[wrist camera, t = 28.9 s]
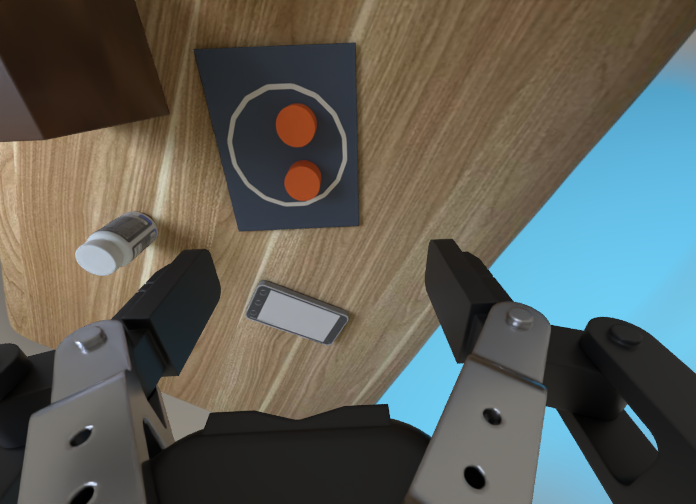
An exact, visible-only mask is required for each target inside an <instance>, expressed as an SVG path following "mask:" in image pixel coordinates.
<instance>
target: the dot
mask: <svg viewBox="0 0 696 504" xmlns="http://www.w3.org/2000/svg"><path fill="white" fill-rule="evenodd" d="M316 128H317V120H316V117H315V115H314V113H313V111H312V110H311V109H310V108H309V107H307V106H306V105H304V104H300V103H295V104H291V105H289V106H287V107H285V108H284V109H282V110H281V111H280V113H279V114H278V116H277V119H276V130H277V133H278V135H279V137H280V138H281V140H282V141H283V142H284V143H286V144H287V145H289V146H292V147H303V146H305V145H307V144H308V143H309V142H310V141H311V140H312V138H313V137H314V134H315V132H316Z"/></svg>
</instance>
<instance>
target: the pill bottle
mask: <svg viewBox="0 0 696 504" xmlns="http://www.w3.org/2000/svg"><path fill="white" fill-rule="evenodd" d="M157 236H158V229H157V226H156V224H155V223H154V222H153V220H152V219H151V218H150V217H148V216H147V215H145V214H143V213H140V212H127V213H125V214H123V215H121V216H120V217H118V218H117V219H115V220H113V221H112V222H110V223H109V224H107V225H106V226H104V227H103V228H101V229H99V230H98V231H96V232H94V233H93V234H92V235H91V236H90V237H89V238H88V240H87V242H86V243H84V244H83V245H82V246H80V247H79V248H78V249H77V250H76V253H75V257H76V260H77V262H78V263H79V265H80V266H81V267H82V268H84V269H85V270H86V271H88V272H90V273H92V274H95V275H101V276H105V275H110V274H112V273H113V272H115V271H116V270H117V269H118V268H119V267H123V266H125V265H127V264H129V263H130V262H131V261H132V260H133V259H135V258H136V257H137V256H138V255H139V254H140V253H141V252H142V251H143V250H144V249H146V248H147V247H148V246H149V245H150V244H151V243H152V242H153V241H154V240H155V239H156V238H157Z"/></svg>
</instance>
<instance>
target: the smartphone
mask: <svg viewBox="0 0 696 504" xmlns="http://www.w3.org/2000/svg"><path fill="white" fill-rule="evenodd" d="M245 316H246V318H248V319H250V320H253V321H256V322H259V323H262V324H265V325H268V326H271V327H274V328H277V329H280V330H283V331H286V332H288V333H291V334H294V335H297V336H300V337H303V338H306V339H309V340H312V341H315V342H318V343H321V344H324V345H331V344H332V343H333V342H334V340H335V339H336V337H337V336H338V334H339V333H340V332H341V330H342V329H343V327H344V326H345V324H346V323H347V321H348V312H347V311H345V310H342V309H339V308H337V307H334V306H332V305H329V304H326V303H324V302H321V301H318V300H316V299H313V298H310V297H308V296H305V295H303V294H300V293H297V292H295V291H292V290H289V289H287V288H284V287H281V286H279V285H276V284H273V283H271V282H268V281H265V280H263V281H260V282H259V284H258V286H257V288H256V290H255V293H254V295H253V297H252V299H251V301H250V304H249V306H248V308H247V310H246V313H245Z"/></svg>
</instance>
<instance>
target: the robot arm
mask: <svg viewBox="0 0 696 504" xmlns="http://www.w3.org/2000/svg"><path fill="white" fill-rule="evenodd" d="M425 286H426V291H427V293H428V296H429V298H430V300H431V303H432V305H433V308H434V310H435V312H436V315H437V317H438V319H439V322H440V324H441V326H442V329H443V331H444V334H445V336H446V338H447V341H448V343H449V345H450V348H451V350H452V352H453V355H454V357H455V360H456V362H457V363H464V365H463V367H462V370H461V372H460V374H459V376H458V379H457V381H456V383H455V385H454V388H453V390H452V392H451V394H450V397H449V399H448V401H447V404H446V406H445V408H444V411H443V413H442V415H441V417H440V420H439V422H438V424H437V426H436V429H435V431H434V433H433V435H432V437H430V436H429V435H427V434H426V433H424V432H423V431H421V430H420V429H418V428H416V427H413V426H412V425H410V424H407V423H404V422H401V421H399V420H395V419H391V418H390V414H389V407H388V404H378V405H357V406H343V407H340V408H337V409H333V410H330V411H327V412H324V413H320V414H317V415H314V416H311V417H308V418H304V419H300V420H294V419H289V418H285V417H280V416H276V415H271V414H267V413H263V412H258V411H235V412H215V413H210V414H209V417H208V420H207V422H206V425H205V427H204V429H202V430H199V431H197V432H194V433H192V434H189V435H187V436H186V437H184V438H182V439H180V440H178V441H176V442H175V440H174V438H173V435H172V431H171V427H170V424H169V420H168V416H167V413H166V409H165V406H164V402H163V398H162V395H161V391H160V389H159V387H158V385H157V383H158V381H159V380H160V378H161V377H165V376H179V374H180V372H181V370H182V369H183V367H184V365H185V363H186V361H187V359H188V357H189V356H190V354H191V352H192V350H193V348H194V346H195V344H196V342H197V341H198V339H199V337H200V335H201V333H202V331H203V329H204V328H205V326H206V324H207V322H208V320H209V318H210V316H211V315H212V313H213V311H214V309H215V307H216V305H217V303H218V301H219V299H220V295H221V287H220V282H219V279H218V276H217V273H216V269H215V266H214V263H213V260H212V257H211V254H210V252H209V251H208V250H207V249H192V250H183V251H182V252H181V253H180V254H179V255H178V256H177V257H176V258H175V259H174V261H173V262H172V263H171V264H168V265H167V266H165V267H164V268H162V269H160V270H159V271H157V272H155V273H154V275H153V276H152V277H151V278H150V279H149V280H148V281H147V282H146V284H144V285H143V286H142V287H141V288H140V289H139V290H138V291H139V292H138V293H136V294H135V295H134V296H133V297H132V298H131V299H130V300H129V301H128V302H127V303H126V304H125V305H124V306H123V307H122V308H121V309H120V310H119V312H118V313H117V314H116V315H115V316H114V317H113V318H112V319H111V320H102V321H98V322H94V323H92V324H89V325H86V326H84V327H82V328H80V329H78V330H76V331H75V332H73V333H72V334H70V335H69V336H68V337H66V338H65V339H64V340H63V341H62V342H61V343H60V344H59V345H58V347H57V349H56V350H52V351H48V352H44V353H40V354H36V355H32V356H28V357H27V356H26V355H25V354H24V353H23V351H22V350H21V349H20V348H19V347H18V346H17V345H15V344H10V343H9V344H0V504H532V499H533V492H534V485H535V478H536V470H537V463H538V456H539V449H540V442H541V435H542V428H543V420H544V413H545V407H546V406H548V407H552V408H556V410H557V411H558V413H559V414H560V416H561V418H562V419H563V421H564V423H565V424H566V426H567V428H568V429H569V431H570V433H571V434H572V436H573V438H574V439H575V441H576V443H577V444H578V446H579V448H580V449H581V451H582V452H583V454H584V456H585V458H586V459H587V461H588V462H589V464H590V466H591V468H592V469H593V471H594V473H595V474H596V476H597V478H598V479H599V481H600V483H601V484H602V486H603V488H604V489H605V491H606V493H607V494H608V496H609V498H610V499H611V501H612V503H613V504H696V373H694V372H693V371H692V370H691V369H690V368H689V367H688V366H686V365H685V364H684V363H683V362H682V361H681V360H680V359H678V358H677V357H676V356H675V355H674V354H673V353H671V352H670V351H669V350H668V349H667V348H666V347H665V346H663V345H662V344H661V343H660V342H659V341H658V340H657V339H655V338H654V337H653V336H652V335H650V334H649V333H648V332H646V331H645V330H643V329H641V328H639V327H637V326H635V325H633V324H631V323H628V322H626V321H623V320H619V319H615V318H610V317H597V318H593V319H591V320H590V321H589V322H588V324H587V326H586V328H585V330H584V331H582V330H577V329H571V328H565V327H560V326H554V325H550V323H549V321H548V320H547V318H546V317H545V316H544V315H543V314H541V313H540V312H539V311H537V310H536V309H534V308H532V307H530V306H527V305H525V304H521V303H517V302H514V301H513V300H512V299H511V298H510V297H509V295H508V294H507V293H506V291H505V290H504V289H503V288H502V286H501V285H500V284H499V283H498V281H497V280H496V279H495V278H494V277H493V275H492V274H491V273H490V271H489V270H487V268H486V266H485V265H484V264H483V263H482V261H481V260H480V259H479V258H477V257H476V256H474V255H473V254H471V253H469V252H462V251H461V249H460V248H459V247H458V245H457V244H456V243H455V241H454V240H453V239H435V240H430V242H429V247H428V255H427V263H426V271H425ZM627 404H628V405H629V406H630V407H631V409H632V410H633V411H634V412H635V413H636V415H637V416H638V417H639V418H640V420H641V421H642V422H643V423H644V424H645V425H646V427H647V428H648V429H649V430H650V432H651V433H652V435H653V436H654V438H655V440H656V443H657V447H658V451H657V450H656V449H655V448H654V446H653V445H652V444H651V442H650V441H649V440H648V439H647V437H646V436H645V435H644V434H643V432H642V431H641V430H640V429H639V428H638V426H637V425H636V424H635V423H634V421H633V420H632V419H631V418H630V417H629V415H628V414H627V413H626V411H625V410H624V408H625V407H626V405H627Z"/></svg>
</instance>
